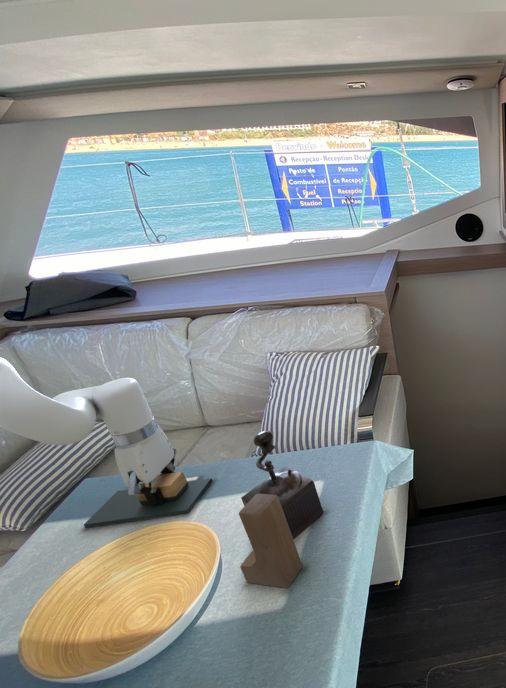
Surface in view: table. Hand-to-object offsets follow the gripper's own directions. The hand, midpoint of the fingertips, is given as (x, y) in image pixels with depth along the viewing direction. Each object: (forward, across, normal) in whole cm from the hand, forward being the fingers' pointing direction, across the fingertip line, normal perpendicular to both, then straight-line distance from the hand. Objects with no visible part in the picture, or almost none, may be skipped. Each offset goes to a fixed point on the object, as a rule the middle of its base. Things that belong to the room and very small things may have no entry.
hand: (165, 494), depth 99 cm
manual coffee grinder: (+2, +11, +31) cm, 33 cm away
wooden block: (+2, +25, +35) cm, 43 cm away
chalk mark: (+1, -6, +2) cm, 6 cm away
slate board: (+2, +1, -3) cm, 3 cm away
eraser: (0, 0, 0) cm, 0 cm away
